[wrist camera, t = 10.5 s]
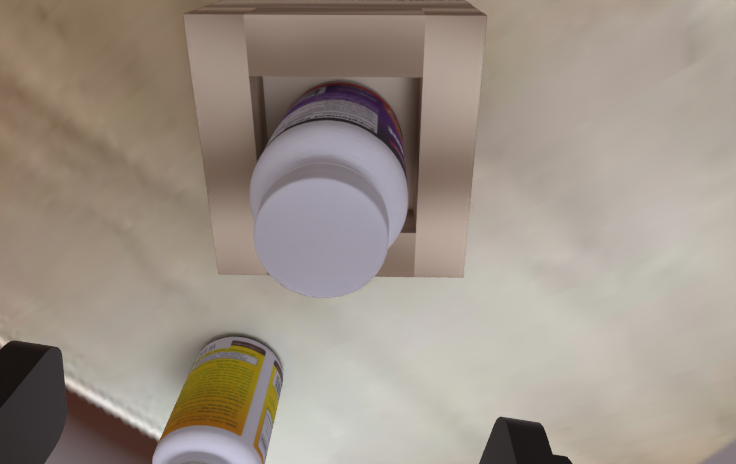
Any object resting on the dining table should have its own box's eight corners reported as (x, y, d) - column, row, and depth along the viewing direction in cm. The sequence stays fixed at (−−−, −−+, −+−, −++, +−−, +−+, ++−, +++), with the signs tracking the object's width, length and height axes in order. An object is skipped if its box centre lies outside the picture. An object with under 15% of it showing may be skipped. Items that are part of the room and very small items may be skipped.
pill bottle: (395, 200, 26) (400, 326, 18) (280, 189, 26) (228, 310, 18) (410, 84, 24) (425, 164, 15) (283, 71, 24) (225, 144, 15)
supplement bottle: (178, 355, 36) (107, 498, 26) (248, 318, 34) (199, 454, 25) (233, 413, 38) (185, 564, 28) (302, 379, 36) (275, 527, 27)
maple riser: (224, 0, 26) (182, 14, 21) (465, 0, 26) (487, 15, 20) (247, 217, 31) (218, 274, 26) (449, 219, 31) (463, 277, 25)
